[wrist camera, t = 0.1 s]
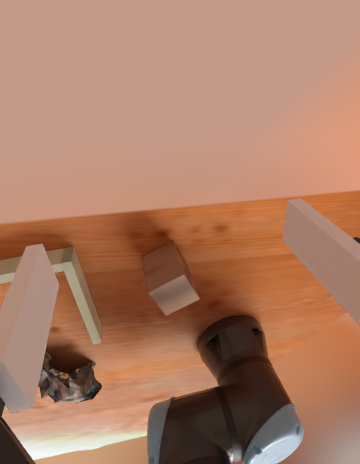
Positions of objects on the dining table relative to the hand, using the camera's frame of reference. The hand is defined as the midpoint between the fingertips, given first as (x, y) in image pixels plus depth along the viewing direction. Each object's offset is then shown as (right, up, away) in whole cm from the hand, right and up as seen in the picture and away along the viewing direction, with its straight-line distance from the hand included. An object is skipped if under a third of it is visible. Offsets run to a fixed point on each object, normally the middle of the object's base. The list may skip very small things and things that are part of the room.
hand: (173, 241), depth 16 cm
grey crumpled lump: (-25, -26, +44) cm, 56 cm away
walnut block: (-2, -5, +36) cm, 36 cm away
